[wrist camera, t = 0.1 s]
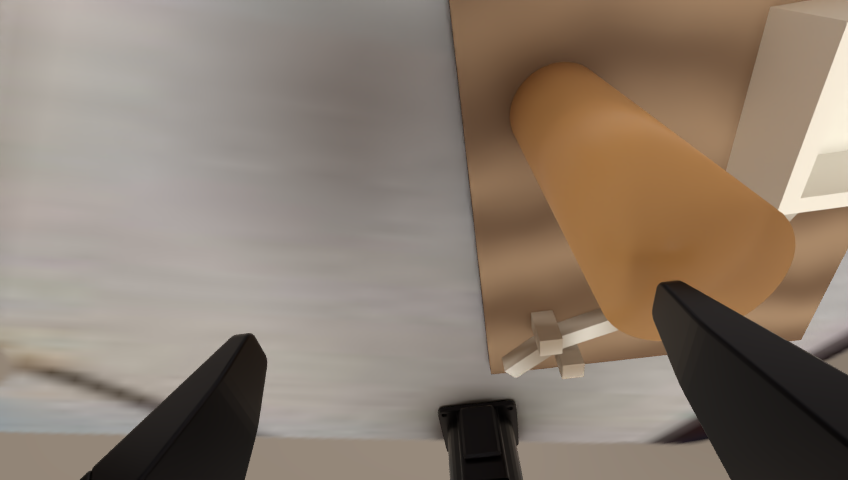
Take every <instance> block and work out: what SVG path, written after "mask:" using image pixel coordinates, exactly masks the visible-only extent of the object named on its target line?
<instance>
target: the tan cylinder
mask: <svg viewBox="0 0 848 480" xmlns="http://www.w3.org/2000/svg"><path fill="white" fill-rule="evenodd" d="M510 124H511V128H512V131H513V134H514V136H515V138H516V140H517V142H518V144H519V146H520V148H521V150H522V152H523V154H524V156H525V158H526V160H527V162H528V164H529V166H530V168H531V170H532V172H533V174H534V176H535V178H536V180H537V182H538V184H539V186H540V188H541V190H542V192H543V194H544V196H545V198H546V200H547V202H548V204H549V206H550V208H551V210H552V212H553V214H554V216H555V218H556V220H557V222H558V224H559V226H560V228H561V230H562V232H563V234H564V236H565V238H566V240H567V242H568V244H569V246H570V248H571V250H572V252H573V254H574V256H575V258H576V260H577V262H578V264H579V266H580V268H581V270H582V272H583V274H584V276H585V278H586V280H587V282H588V284H589V286H590V288H591V290H592V292H593V294H594V296H595V298H596V300H597V302H598V304H599V306H600V308H601V310H602V312H603V314H604V316H605V317H606V319H607V320H608V321H609V322H610V323H611V324H612V325H613V326H614V327H615V328H617V329H618V330H619V331H621V332H623V333H625V334H627V335H630V336H633V337H635V338H640V339H644V340H652V341H662V340H661V338H660V335H659V333H658V330H657V328H656V325H655V323H654V320H653V317H652V307H653V302H654V297H655V293H656V288H657V285H658V284H659V283H661V282H666V281H674V280H680V281H682V282H684V283H686V284H688V285H690V286H692V287H693V288H695V289H697V290H699V291H700V292H702V293H704V294H706V295H707V296H709V297H711V298H713V299H715V300H716V301H718V302H720V303H722V304H723V305H725V306H727V307H729V308H730V309H732V310H734V311H736V312H738V313H739V314H741V315H743V316H745V315H746V314H748V313H749V312H751V311H752V310H754V309H755V308H756V307H757V306H759V305H760V304H761V303H762V302H764V301H765V300H766V299H767V298H768V297H769V296H770V295H771V294H772V293H773V292H774V291H775V289H776V288H777V287H778V286H779V285H780V283H781V282H782V280H783V279H784V277H785V276H786V274H787V272H788V270H789V268H790V266H791V264H792V261H793V258H794V253H795V247H796V245H795V235H794V231H793V228H792V226H791V224H790V222H789V220H788V219H787V218H786V217H785V216H784V214H783V213H781V212H780V211H779V210H777V209H776V208H775V207H774V206H772V205H771V204H769V203H768V202H767V201H765V200H764V199H763V198H761V197H760V196H759V195H757V194H756V193H755V192H753V191H752V190H751V189H749V188H748V187H747V186H745V185H744V184H743V183H741V182H740V181H739V180H737V179H736V178H735V177H733V176H732V175H731V174H729V173H728V172H726V171H725V170H724V169H722V168H721V167H720V166H718V165H717V164H716V163H714V162H713V161H712V160H710V159H709V158H708V157H706V156H705V155H704V154H702V153H701V152H700V151H698V150H697V149H696V148H694V147H693V146H692V145H690V144H689V143H688V142H686V141H685V140H683V139H682V138H681V137H679V136H678V135H677V134H675V133H674V132H673V131H671V130H670V129H669V128H667V127H666V126H665V125H663V124H662V123H661V122H659V121H658V120H657V119H655V118H654V117H653V116H651V115H650V114H649V113H647V112H646V111H645V110H643V109H642V108H641V107H639V106H638V105H636V104H635V103H634V102H632V101H631V100H630V99H628V98H627V97H626V96H624V95H623V94H622V93H620V92H619V91H618V90H616V89H615V88H614V87H612V86H611V85H610V84H608V83H607V82H606V81H604V80H603V79H602V78H600V77H599V76H598V75H596V74H595V73H593V72H592V71H591V70H589V69H588V68H587V67H585V66H583V65H580V64H577V63H573V62H557V63H553V64H549V65H547V66H544V67H542V68H540V69H538V70H537V71H535V72H534V73H532V74H531V75H530V76H529V77H528V78H527V79H526V80H525V81H524V82H523V83H522V84H521V86H520V87H519V88H518V90H517V92H516V94H515V96H514V98H513V101H512V104H511V109H510Z"/></svg>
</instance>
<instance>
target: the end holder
mask: <svg viewBox="0 0 848 480" xmlns="http://www.w3.org/2000/svg"><path fill="white" fill-rule="evenodd" d="M726 172H728V173H729V174H731V175H732V176H733V177H735V178H736V179H737V180H739V181H740V182H741V183H743V184H744V185H745V186H747V187H748V188H749V189H751V190H752V191H753V192H755V193H756V194H757V195H759V196H760V197H761V198H763V199H764V200H765V201H767V202H768V203H769V204H771V205H772V206H774V207H775V208H776V209H777V210H779V211H780V212H781V213H783V214H784V215H787V214H794V213H802V212H809V211H817V210H824V209H831V208H839V207H846V206H848V0H807V1H802V2H796V3H790V4H784V5H778V6H773V7H770V10H769V14H768V17H767V21H766V25H765V28H764V32H763V36H762V39H761V43H760V47H759V50H758V54H757V58H756V62H755V65H754V69H753V73H752V76H751V80H750V84H749V87H748V91H747V95H746V99H745V102H744V106H743V110H742V113H741V117H740V121H739V124H738V128H737V132H736V135H735V139H734V143H733V147H732V150H731V154H730V158H729V161H728V165H727V169H726Z"/></svg>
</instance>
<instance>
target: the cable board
mask: <svg viewBox="0 0 848 480" xmlns="http://www.w3.org/2000/svg"><path fill="white" fill-rule="evenodd" d="M802 1H807V0H449V5H450V14H451V23H452V32H453V41H454V50H455V59H456V68H457V77H458V86H459V95H460V104H461V113H462V121H463V130H464V139H465V148H466V157H467V166H468V175H469V184H470V193H471V202H472V211H473V220H474V229H475V238H476V247H477V256H478V265H479V273H480V282H481V291H482V300H483V309H484V318H485V327H486V336H487V345H488V354H489V363H490V369H491V374H499V373H508V374H510V375H512V376H513V377H515V378H517V377H519V376H520V375H522V374H523V373H525V372H527V371H528V370H535V369H544V368H553V367H558V368H559V371H560V374H561V377H562V379H568V378H577V377H584V366H585V364H589V363H598V362H607V361H616V360H625V359H634V358H643V357H652V356H661V355H667V353H666V350H665V348H664V345H663V343H662V341H652V340H644V339H640V338H635V337H633V336H630V335H627V334H625V333H623V332H621V331H619V330H618V329H617V328H615V327H614V326H613V325H612V324H611V323H610V322H609V321H608V320H607V319H606V317H605V316H604V314H603V312H602V310H601V308H600V306H599V304H598V302H597V300H596V298H595V296H594V294H593V292H592V290H591V288H590V286H589V284H588V282H587V280H586V278H585V276H584V274H583V272H582V270H581V268H580V266H579V264H578V262H577V260H576V258H575V256H574V254H573V252H572V250H571V248H570V246H569V244H568V242H567V240H566V238H565V236H564V234H563V232H562V230H561V228H560V226H559V224H558V222H557V220H556V218H555V216H554V214H553V212H552V210H551V208H550V206H549V204H548V202H547V200H546V198H545V196H544V194H543V192H542V190H541V188H540V186H539V184H538V182H537V180H536V178H535V176H534V174H533V172H532V170H531V168H530V166H529V164H528V162H527V160H526V158H525V156H524V154H523V152H522V150H521V148H520V146H519V144H518V142H517V140H516V138H515V136H514V134H513V131H512V128H511V124H510V109H511V104H512V101H513V98H514V96H515V94H516V92H517V90H518V88H519V87H520V86H521V84H522V83H523V82H524V81H525V80H526V79H527V78H528V77H529V76H530V75H531V74H532V73H534V72H535V71H537V70H538V69H540V68H542V67H544V66H547V65H549V64H553V63H557V62H573V63H577V64H580V65H583V66H585V67H587V68H588V69H589V70H591V71H592V72H593V73H595V74H596V75H598V76H599V77H600V78H602V79H603V80H604V81H606V82H607V83H608V84H610V85H611V86H612V87H614V88H615V89H616V90H618V91H619V92H620V93H622V94H623V95H624V96H626V97H627V98H628V99H630V100H631V101H632V102H634V103H635V104H636V105H638V106H639V107H641V108H642V109H643V110H645V111H646V112H647V113H649V114H650V115H651V116H653V117H654V118H655V119H657V120H658V121H659V122H661V123H662V124H663V125H665V126H666V127H667V128H669V129H670V130H671V131H673V132H674V133H675V134H677V135H678V136H679V137H681V138H682V139H683V140H685V141H686V142H688V143H689V144H690V145H692V146H693V147H694V148H696V149H697V150H698V151H700V152H701V153H702V154H704V155H705V156H706V157H708V158H709V159H710V160H712V161H713V162H714V163H716V164H717V165H718V166H720V167H721V168H722V169H724V170H725V171H726V169H727V165H728V161H729V158H730V154H731V150H732V147H733V143H734V139H735V135H736V132H737V128H738V124H739V121H740V117H741V113H742V110H743V106H744V102H745V99H746V95H747V91H748V87H749V84H750V80H751V76H752V73H753V69H754V65H755V62H756V58H757V54H758V50H759V47H760V43H761V39H762V36H763V32H764V28H765V25H766V21H767V17H768V14H769V10H770V7H773V6H778V5H784V4H790V3H796V2H802ZM784 216H785V217H786V218H787V219H788V220H789V222H790V224H791V226H792V228H793V231H794V235H795V245H796V247H795V253H794V258H793V261H792V264H791V266H790V268H789V270H788V272H787V274H786V276H785V277H784V279H783V280H782V282H781V283H780V285H779V286H778V287H777V288H776V289H775V291H774V292H773V293H772V294H771V295H770V296H769V297H768V298H767V299H766V300H765V301H764V302H762V303H761V304H760V305H759V306H757V307H756V308H755V309H754V310H752V311H751V312H749V313H748V314H746V315H745V317H746V318H748V319H750V320H752V321H753V322H755V323H757V324H759V325H761V326H762V327H764V328H766V329H768V330H769V331H771V332H773V333H775V334H776V335H778V336H780V337H782V338H784V339H785V340H787V341H795V340H801V339H802V337H803V335H804V333H805V331H806V329H807V327H808V325H809V323H810V321H811V319H812V317H813V315H814V313H815V311H816V309H817V308H818V306H819V304H820V302H821V300H822V298H823V296H824V294H825V292H826V290H827V288H828V286H829V284H830V282H831V280H832V278H833V276H834V274H835V272H836V270H837V268H838V266H839V264H840V262H841V260H842V259H843V257H844V255H845V253H846V251H847V249H848V206H846V207H839V208H831V209H824V210H817V211H809V212H802V213H794V214H787V215H784Z"/></svg>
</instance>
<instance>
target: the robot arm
mask: <svg viewBox="0 0 848 480" xmlns="http://www.w3.org/2000/svg"><path fill="white" fill-rule="evenodd" d="M652 317H653V320H654V323H655V325H656V328H657V330H658V333H659V335H660V338H661V340H662V343H663V345H664V348H665V350H666V353H667V355H668V358H669V360H670V363H671V365H672V367H673V370H674V372H675V375H676V377H677V379H678V382H679V384H680V386H681V388H682V390H683V392H684V394H685V396H686V398H687V400H688V401H689V403H690V405H691V407H692V409H693V411H694V412H695V414H696V416H697V418H698V420H699V422H700V423H701V425H702V427H703V429H704V431H705V433H706V435H707V436H708V438H709V440H710V442H711V444H712V446H713V447H714V449H715V451H716V453H717V455H718V456H719V458H720V460H721V462H722V464H723V466H724V468H725V469H726V471H727V473H728V475H729V477H730V479H731V480H848V375H847V374H845V373H844V372H842V371H840V370H838V369H836V368H835V367H833V366H831V365H830V364H828V363H826V362H824V361H823V360H821V359H819V358H817V357H815V356H814V355H812V354H810V353H808V352H807V351H805V350H803V349H801V348H800V347H798V346H796V345H794V344H792V343H791V342H789V341H787V340H785V339H784V338H782V337H780V336H778V335H776V334H775V333H773V332H771V331H769V330H768V329H766V328H764V327H762V326H761V325H759V324H757V323H755V322H753V321H752V320H750V319H748V318H746V317H745V316H743V315H741V314H739V313H738V312H736V311H734V310H732V309H730V308H729V307H727V306H725V305H723V304H722V303H720V302H718V301H716V300H715V299H713V298H711V297H709V296H707V295H706V294H704V293H702V292H700V291H699V290H697V289H695V288H693V287H692V286H690V285H688V284H686V283H684V282H682V281H680V280H674V281H666V282H661V283H659V284H658V285H657V288H656V293H655V297H654V302H653V307H652ZM266 370H267V358H266V355H265V353H264V352H263V350H262V348H261V346H260V345H259V343H258V341H257V339H256V337H255V336H254V335H253V334H251V333H246V334H238V335H234V336H232V337H231V338H230V339H229V340H228V341H227V342H226V343H225V344H223V345H222V346H221V347H220V348H219V349H218V350H217V351H216V352H215V353H214V354H213V355H212V356H211V357H210V358H209V359H208V360H206V361H205V362H204V363H203V364H202V365H201V366H200V367H199V368H198V369H197V370H196V371H195V372H194V373H193V374H192V375H191V376H189V377H188V378H187V379H186V380H185V381H184V382H183V383H182V384H181V385H180V386H179V387H178V388H177V389H176V390H175V391H174V392H172V393H171V394H170V395H169V396H168V397H167V398H166V399H165V400H164V401H163V402H162V403H161V404H160V405H159V406H158V407H157V408H155V409H154V410H153V411H152V412H151V413H150V414H149V415H148V416H147V417H146V418H145V419H144V420H143V421H142V422H141V423H140V424H138V425H137V426H136V427H135V428H134V429H133V430H132V431H131V432H130V433H129V434H128V435H127V436H126V437H125V438H124V439H123V440H122V441H120V442H119V443H118V444H117V445H116V446H115V447H114V448H113V449H112V450H111V451H110V452H109V453H108V454H107V455H106V456H104V457H103V458H102V459H101V460H100V461H99V462H98V463H97V464H96V465H95V466H94V467H93V469H92V471H89V472H87V473H86V474H85V475H84V476H83V477H82V478H81V479H80V480H245V476H246V472H247V468H248V464H249V461H250V457H251V453H252V449H253V445H254V442H255V437H256V433H257V429H258V423H259V418H260V411H261V404H262V397H263V390H264V384H265V377H266ZM438 416H439V420H440V424H441V428H442V432H443V436H444V440H445V445H446V448H447V451H448V452H449V468H450V480H523V477H522V471H521V466H520V461H519V457H518V451H517V445H518V428H517V411H516V404H515V402H514V401H501V402H491V403H482V404H472V405H463V406H453V407H444V408H440V409H439V410H438Z"/></svg>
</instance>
